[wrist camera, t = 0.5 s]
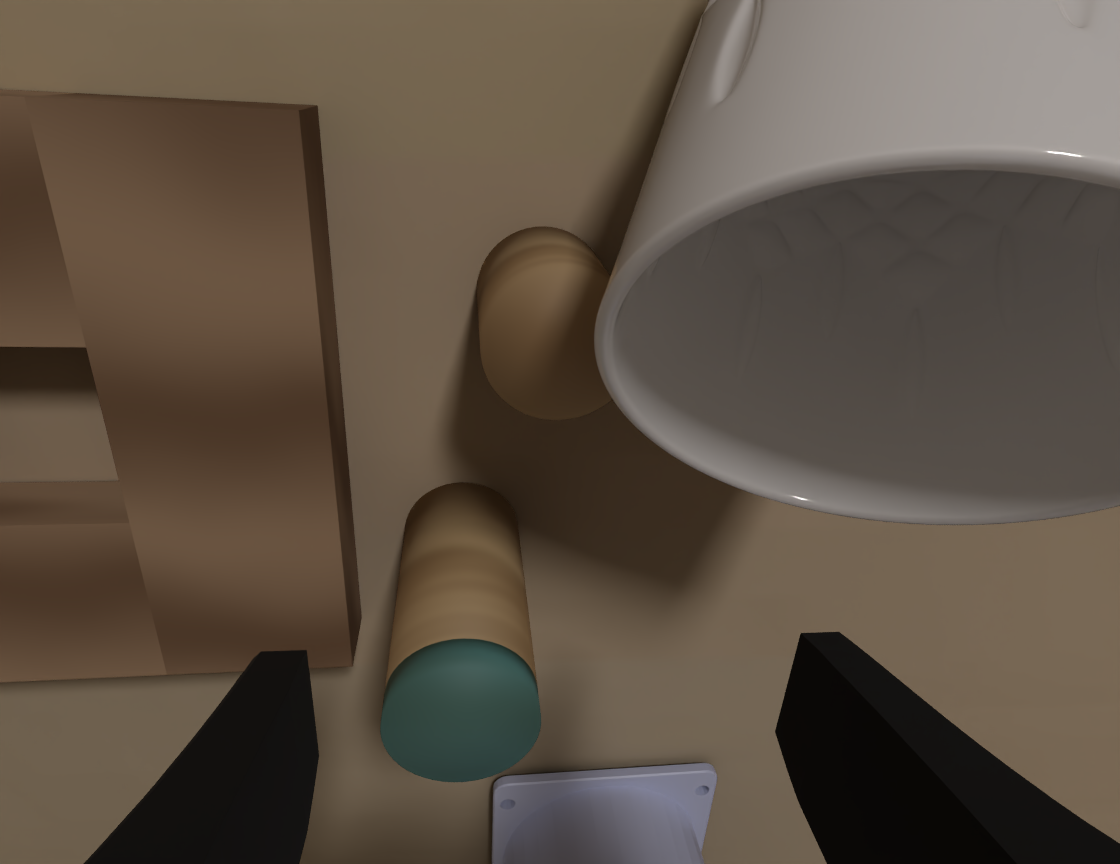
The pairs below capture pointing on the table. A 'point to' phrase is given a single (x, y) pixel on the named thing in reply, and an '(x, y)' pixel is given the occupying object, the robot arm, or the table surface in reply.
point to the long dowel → (460, 641)
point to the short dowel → (542, 323)
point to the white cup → (883, 260)
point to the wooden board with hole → (177, 388)
